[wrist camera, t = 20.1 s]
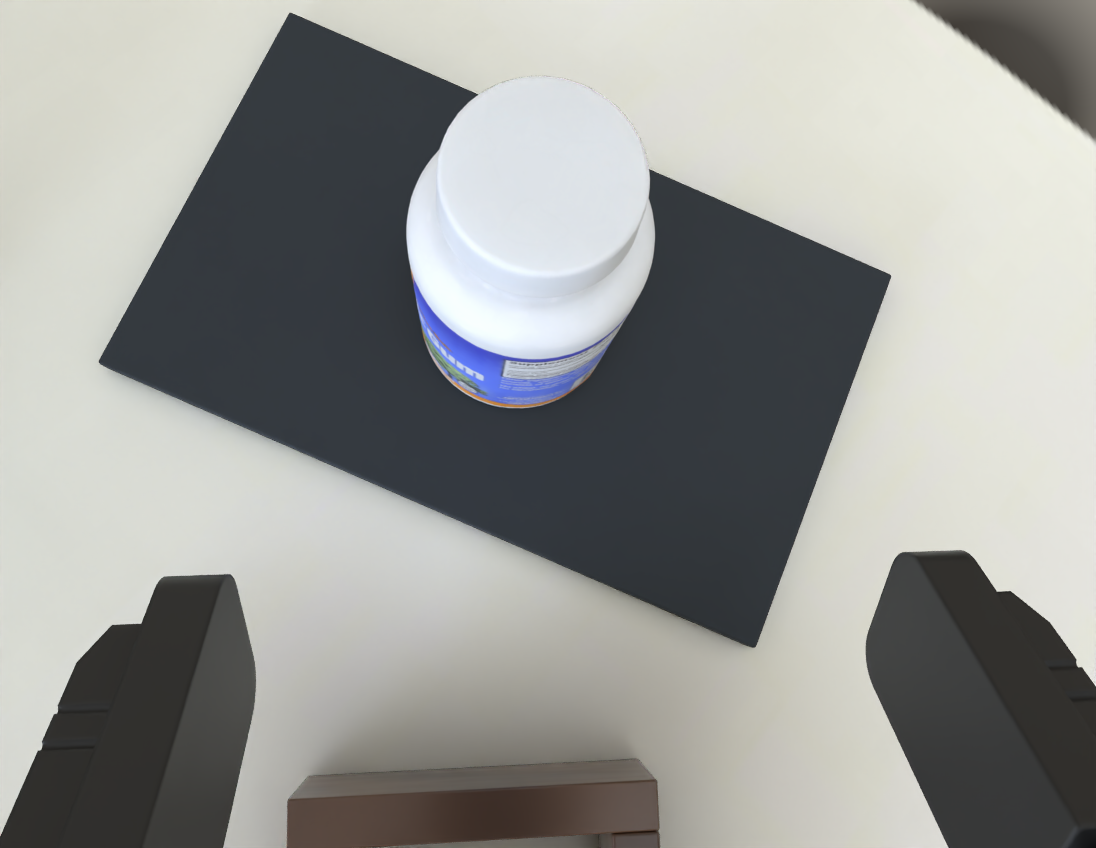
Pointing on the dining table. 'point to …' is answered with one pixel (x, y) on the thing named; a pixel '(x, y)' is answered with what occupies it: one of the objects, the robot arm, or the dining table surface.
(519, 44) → the dining table surface
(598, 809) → the walnut holder
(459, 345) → the pill bottle
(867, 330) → the rubber mat
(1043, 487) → the dining table surface
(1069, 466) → the dining table surface
